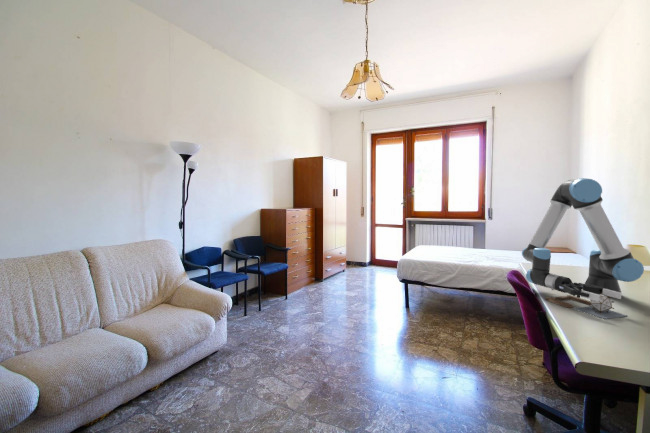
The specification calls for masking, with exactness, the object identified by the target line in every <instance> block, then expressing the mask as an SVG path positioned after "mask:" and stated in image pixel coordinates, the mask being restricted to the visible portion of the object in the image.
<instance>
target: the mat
mask: <svg viewBox="0 0 650 433" xmlns="http://www.w3.org/2000/svg"><path fill="white" fill-rule="evenodd" d="M592 308H593V307H592V306H590V305H588V306H581V307H578V306H577V307H573V310H575V309H576V311H578V310H579V311H578V312H581V311H582V312H581V313H584V312H585V313H584V314H587V313H588V314H587V315H590V314H591V316H593V315H594V316H593V317H596V316H598V317H597V318H599V317H600V318H599V319H602V318H603V320H609V319H618V318H625V317H628V315H627V314H625V313H620V312H618V311H614V310H612V309H609V310H608V312H607V311H603V312H601V313H600V311H598V310H596V309H592Z"/></svg>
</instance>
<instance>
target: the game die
mask: <svg viewBox="0 0 650 433" xmlns="http://www.w3.org/2000/svg"><path fill="white" fill-rule="evenodd" d="M599 295H600V296H599V301H595V300H591V299H589V301H590V303H588V304H591V306H592V307H593V308H592V309H596V310H598V311H600V313H601V312H603V311H607V312H608V310H615V308H614V307H613V303H614V302H615V301H613V300H611V299H610V298H611V297H610V296H604V295H602V293H601V294H599Z"/></svg>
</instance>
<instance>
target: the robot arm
mask: <svg viewBox="0 0 650 433" xmlns="http://www.w3.org/2000/svg"><path fill="white" fill-rule="evenodd" d="M602 193H603V188H602V186H601V184H600V183H599V182H598V181H596V180H595V179H592V178H585V177H584V178H583V177H581V178H577V179H570V180H566V181H564V182H562V183H561V184H560V185H559V186H558V187H557V189H556V191H555V192H554V194H553V196H552V197H551V199H550V203H551V204H550V206H549V207H548V209H547V211H546V212H545V215H544V216H543V218H542V220H541V222H540V224H539V225H538V228H537V230H536V231H535V233H534V235H533V236H532V239H531V240H530V242H529V244H528V245H527V247H525V248H523V249H522V251H521V256H522V257H523V259H525V260H526V261H527V262H530V263H532V268H529V269H528V270H527V272H526V273H525V278H526V280H527V282H528V283H531V284H533V285H536V286H540V287H544V288H548V289H551V291H557V292H561V293H564V294H566V293H567V294H568V295H571V296H575V297H578V298H581V297H582V298H584V299H589V300H590V299H591V300H595V301H599V296H600V295H599V294H601V293H602V295H604V296H607V297H608V296H610V297H609V298H614V299H618V300H622V290H621V287H620V284H619V281H621V282H624V283H625V282H626V283H629V282H631V283H632V282H634V281H637V280H639V279H640V278H641V277H642V276H643V274H644V271H645V269H644V268H645V267H644V265H643V264H642V262H641V261H639V260H638V259H636V258H634V257H633V255H632V253H631V251H630V249H627V248H624V246H623V244H622V242H621V240H620V239H619V236H618V235H617V233H616V231H615V229H614V227H613V225H612V224H611V221H610V219H609V217H608V215H607V214H606V212H605V210H604V208H603V207H602V202H603V201H604V200H603V197H602ZM572 207H573V210H577V211H578V212H579V213H580V215H581V217H582V219H583V220H584V223H585V224H586V226H587V228H588V230H589V232H590V234H591V235H592V237H593V239H594V242H595V244H596V245H597V247H598V249H592V250H591V251H590V253H589V263H588V264H589V265H588V276H587V278H586V281H585V282H584V283H582V282H573V281H572V279H571V278H570V277H567V276H563V275H559V274H555V273H552V272H550V269H551V257H552V251H551V249H549V248H546V247H547V245H548V244H549V242H550V240H551V238H552V236H553V235H554V233H555V231H556V230H557V229H558V226H559V224H560V223H561V221H562V219H563V218H564V216H565V213H566V212H567V210H568V209H571V208H572Z"/></svg>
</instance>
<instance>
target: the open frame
mask: <svg viewBox="0 0 650 433" xmlns="http://www.w3.org/2000/svg"><path fill="white" fill-rule="evenodd" d="M565 300H570V301H575V302H578V303H581V304H584V305H588V306H591V304H588V303H590V300H587V299H586V298H581V297H580V298H578V297H577V296H573V295H571V294H567V295H563V296H552V297H550V296H546V297H545V301H547V302H550V303H553V304H556V305H559V306H561V307H565V308H567V309H574V304H573V303H572V304H571V303H569V302H566V301H565Z"/></svg>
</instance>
